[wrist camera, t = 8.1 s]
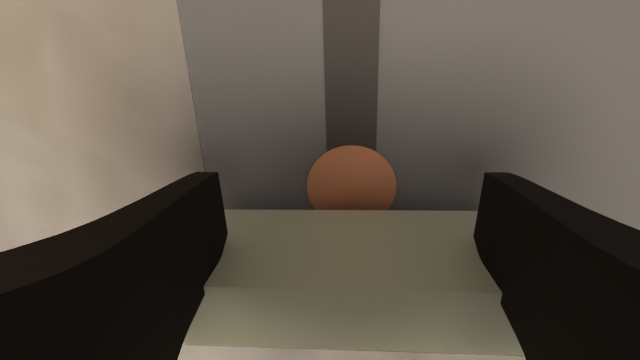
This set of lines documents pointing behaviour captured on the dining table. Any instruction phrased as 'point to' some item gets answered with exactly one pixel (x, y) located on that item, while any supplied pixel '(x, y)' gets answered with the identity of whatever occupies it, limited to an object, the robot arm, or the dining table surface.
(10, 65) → the dining table surface
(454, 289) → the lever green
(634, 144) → the switch panel
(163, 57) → the dining table surface
